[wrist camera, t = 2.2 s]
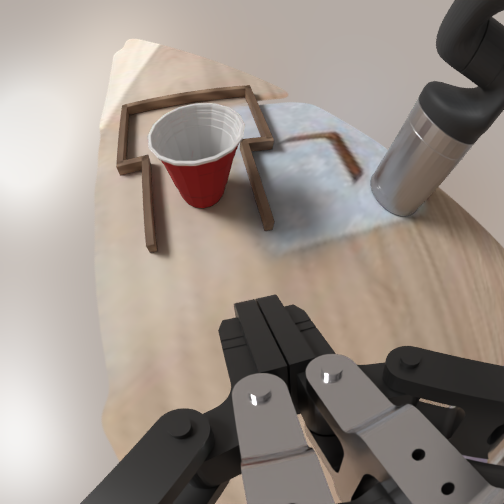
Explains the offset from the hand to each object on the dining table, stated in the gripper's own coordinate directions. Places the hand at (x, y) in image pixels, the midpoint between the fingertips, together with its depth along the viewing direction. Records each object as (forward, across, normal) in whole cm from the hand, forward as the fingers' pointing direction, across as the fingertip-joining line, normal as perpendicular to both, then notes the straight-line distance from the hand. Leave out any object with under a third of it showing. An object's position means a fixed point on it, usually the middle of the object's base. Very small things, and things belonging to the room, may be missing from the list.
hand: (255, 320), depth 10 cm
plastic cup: (+32, 0, 0) cm, 33 cm away
